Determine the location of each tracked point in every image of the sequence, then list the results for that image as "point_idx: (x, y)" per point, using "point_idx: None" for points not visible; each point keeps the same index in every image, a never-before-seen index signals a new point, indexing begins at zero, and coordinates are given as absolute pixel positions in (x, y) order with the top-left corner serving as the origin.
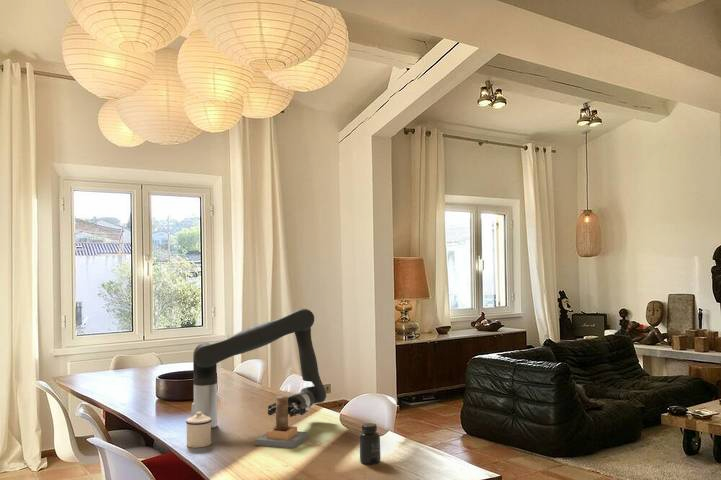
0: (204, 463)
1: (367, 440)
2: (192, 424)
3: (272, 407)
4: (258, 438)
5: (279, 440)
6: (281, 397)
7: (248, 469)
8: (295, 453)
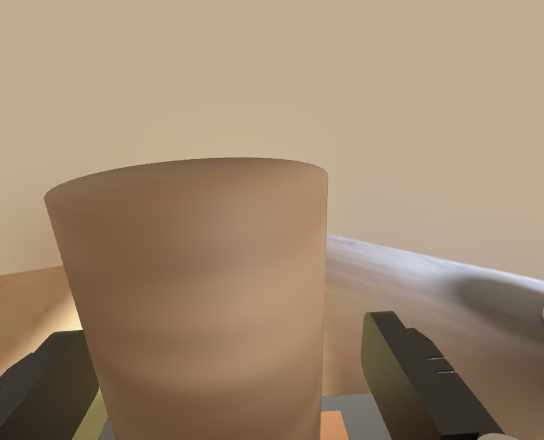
0: (358, 247)
1: None
2: None
3: (464, 413)
4: (380, 417)
5: None
6: (205, 173)
7: None
8: None
